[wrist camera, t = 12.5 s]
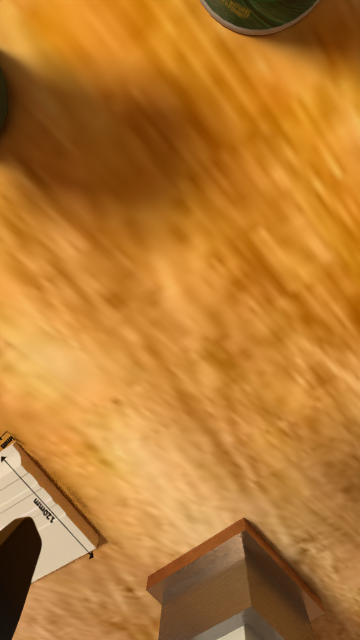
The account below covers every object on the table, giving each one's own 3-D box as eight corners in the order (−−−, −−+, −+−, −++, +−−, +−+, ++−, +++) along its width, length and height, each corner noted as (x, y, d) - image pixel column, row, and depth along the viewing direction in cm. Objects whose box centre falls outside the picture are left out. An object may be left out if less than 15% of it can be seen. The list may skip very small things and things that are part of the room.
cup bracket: (243, 517, 23) (257, 607, 17) (320, 599, 25) (357, 708, 19) (148, 576, 25) (132, 674, 20) (223, 649, 27) (230, 761, 21)
